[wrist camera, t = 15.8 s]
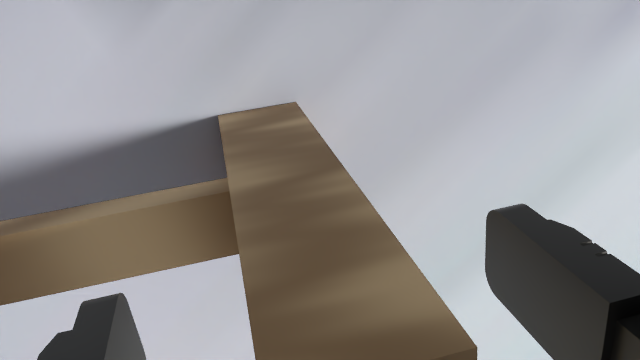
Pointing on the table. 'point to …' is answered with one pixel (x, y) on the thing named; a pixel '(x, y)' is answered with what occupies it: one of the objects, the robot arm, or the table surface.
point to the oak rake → (255, 249)
